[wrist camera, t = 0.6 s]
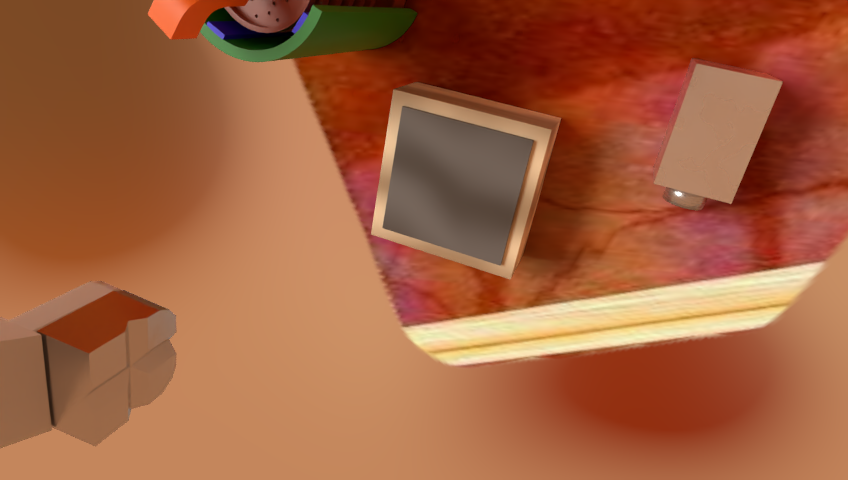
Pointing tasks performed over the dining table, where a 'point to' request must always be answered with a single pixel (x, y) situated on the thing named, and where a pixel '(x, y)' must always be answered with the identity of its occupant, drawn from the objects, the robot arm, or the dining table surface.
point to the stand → (462, 176)
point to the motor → (285, 25)
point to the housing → (713, 132)
